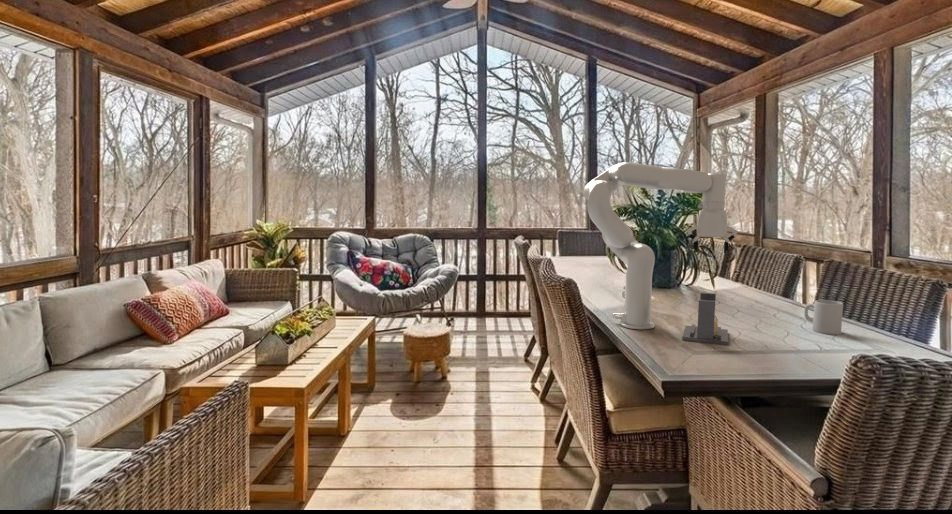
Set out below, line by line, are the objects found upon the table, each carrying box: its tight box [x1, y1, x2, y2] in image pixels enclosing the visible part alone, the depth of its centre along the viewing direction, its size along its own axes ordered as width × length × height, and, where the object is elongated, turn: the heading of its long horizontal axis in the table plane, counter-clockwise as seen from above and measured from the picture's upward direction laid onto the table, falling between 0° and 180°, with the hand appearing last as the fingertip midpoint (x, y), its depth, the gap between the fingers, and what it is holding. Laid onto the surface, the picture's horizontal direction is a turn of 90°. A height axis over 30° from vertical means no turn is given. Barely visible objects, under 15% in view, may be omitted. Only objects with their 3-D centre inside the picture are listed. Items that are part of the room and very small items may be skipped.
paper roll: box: [713, 315, 719, 336], centre depth 174 cm, size 12×6×6 cm, turn 154°
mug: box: [803, 299, 844, 336], centre depth 182 cm, size 12×8×11 cm
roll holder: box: [682, 292, 729, 346], centre depth 174 cm, size 14×17×14 cm
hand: (710, 252), depth 187 cm, fingers open, 9 cm apart
